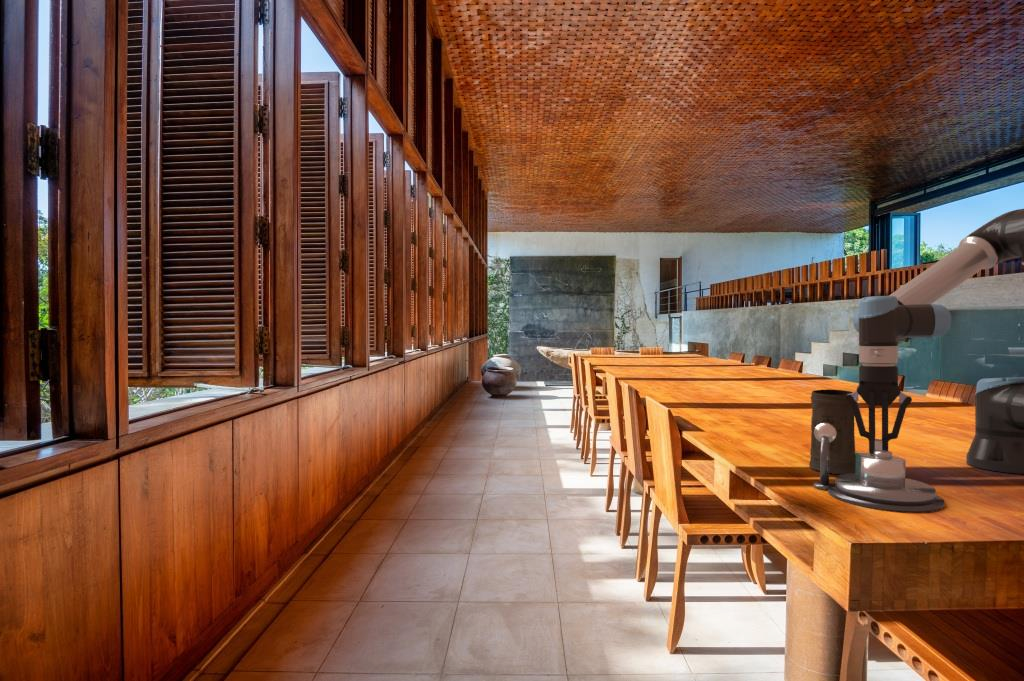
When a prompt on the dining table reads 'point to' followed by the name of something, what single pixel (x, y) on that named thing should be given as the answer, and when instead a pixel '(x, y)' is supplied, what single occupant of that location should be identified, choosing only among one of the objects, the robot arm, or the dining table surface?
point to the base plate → (924, 508)
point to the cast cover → (883, 470)
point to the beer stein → (840, 415)
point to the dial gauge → (824, 453)
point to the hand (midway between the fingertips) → (878, 468)
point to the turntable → (885, 490)
